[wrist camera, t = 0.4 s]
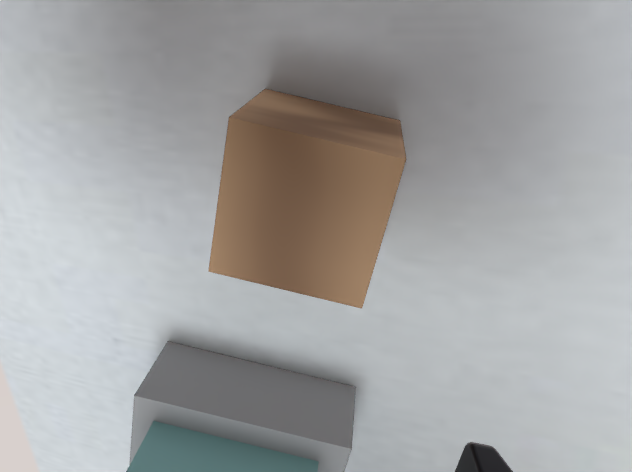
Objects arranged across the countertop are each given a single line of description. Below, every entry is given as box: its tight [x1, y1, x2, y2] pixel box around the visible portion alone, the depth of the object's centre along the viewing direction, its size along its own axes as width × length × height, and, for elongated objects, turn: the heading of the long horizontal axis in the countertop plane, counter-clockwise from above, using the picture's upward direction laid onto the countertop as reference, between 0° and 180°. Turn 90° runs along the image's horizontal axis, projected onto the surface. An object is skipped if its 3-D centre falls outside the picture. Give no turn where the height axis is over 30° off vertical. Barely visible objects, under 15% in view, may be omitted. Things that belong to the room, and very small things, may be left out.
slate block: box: [130, 341, 356, 472], centre depth 24 cm, size 9×9×4 cm
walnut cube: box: [209, 89, 406, 308], centre depth 17 cm, size 5×5×5 cm
